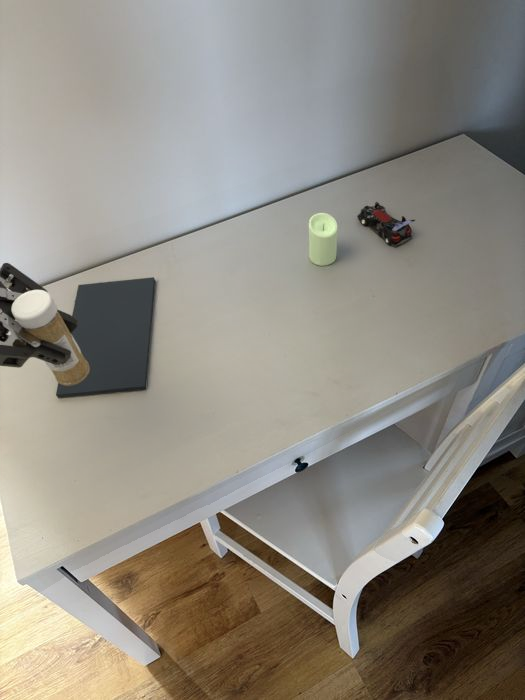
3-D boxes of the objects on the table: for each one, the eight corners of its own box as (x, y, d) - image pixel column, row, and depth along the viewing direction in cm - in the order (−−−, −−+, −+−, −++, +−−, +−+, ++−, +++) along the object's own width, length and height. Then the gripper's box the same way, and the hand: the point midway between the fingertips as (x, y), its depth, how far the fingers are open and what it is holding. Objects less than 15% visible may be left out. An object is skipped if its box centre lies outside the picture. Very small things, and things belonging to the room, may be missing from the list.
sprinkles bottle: (91, 357, 71) (53, 285, 61) (88, 385, 69) (48, 314, 58) (57, 361, 71) (13, 290, 61) (53, 389, 69) (6, 320, 58)
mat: (146, 389, 84) (144, 386, 83) (58, 398, 84) (55, 394, 83) (155, 280, 98) (154, 277, 98) (80, 288, 99) (78, 284, 98)
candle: (341, 259, 98) (343, 224, 92) (318, 269, 97) (318, 234, 90) (326, 244, 101) (327, 208, 94) (304, 254, 100) (303, 218, 93)
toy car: (391, 250, 98) (393, 233, 95) (349, 217, 105) (350, 200, 102) (416, 237, 100) (419, 219, 97) (373, 205, 107) (375, 188, 103)
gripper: (-99, 311, 50) (76, 375, 59) (-51, 215, 58) (94, 283, 68) (-119, 351, 54) (47, 405, 63) (-72, 256, 63) (67, 315, 72)
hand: (70, 342), depth 65 cm, fingers closed on sprinkles bottle, 4 cm apart
